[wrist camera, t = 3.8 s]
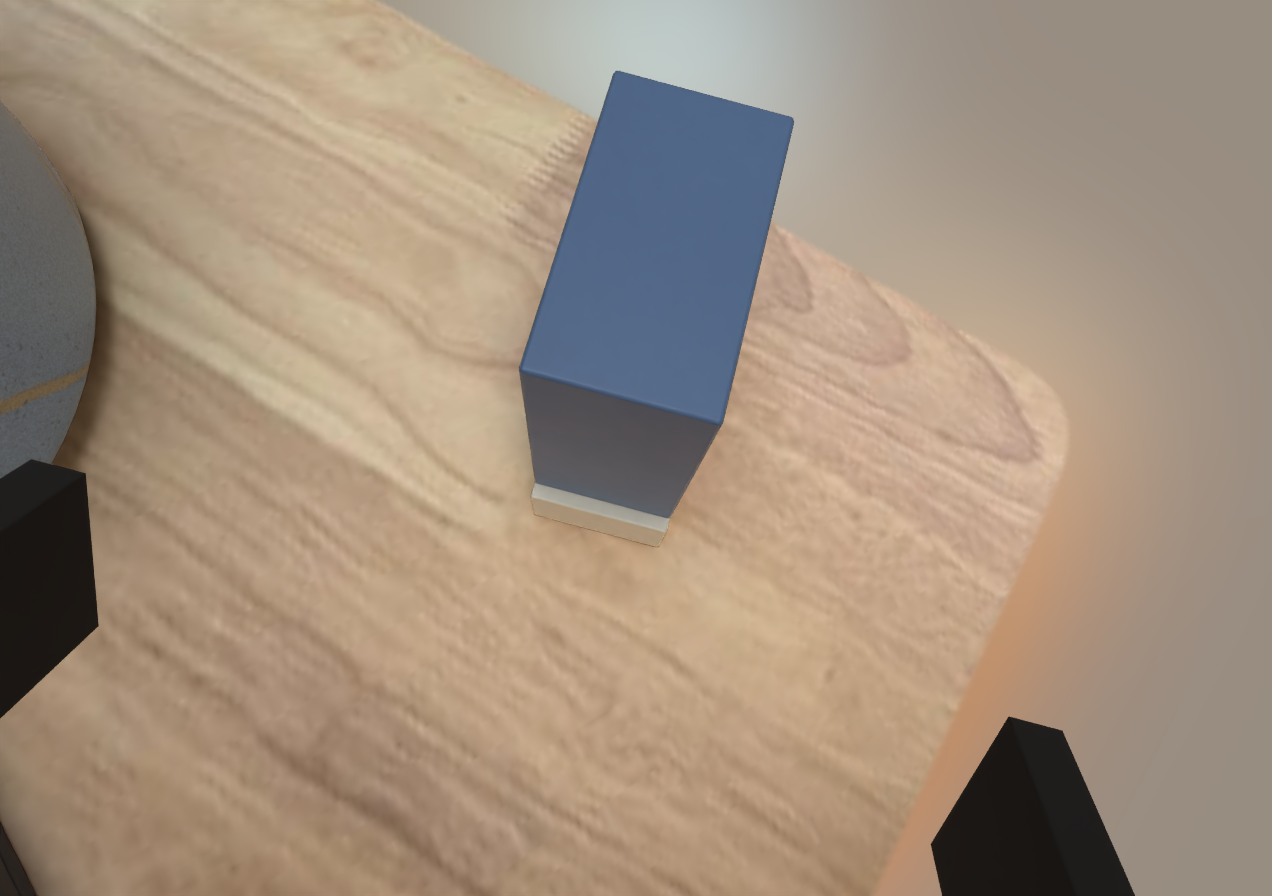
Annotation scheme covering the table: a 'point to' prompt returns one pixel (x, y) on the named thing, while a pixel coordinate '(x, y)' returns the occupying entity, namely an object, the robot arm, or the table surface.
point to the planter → (40, 302)
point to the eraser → (648, 304)
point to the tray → (12, 872)
